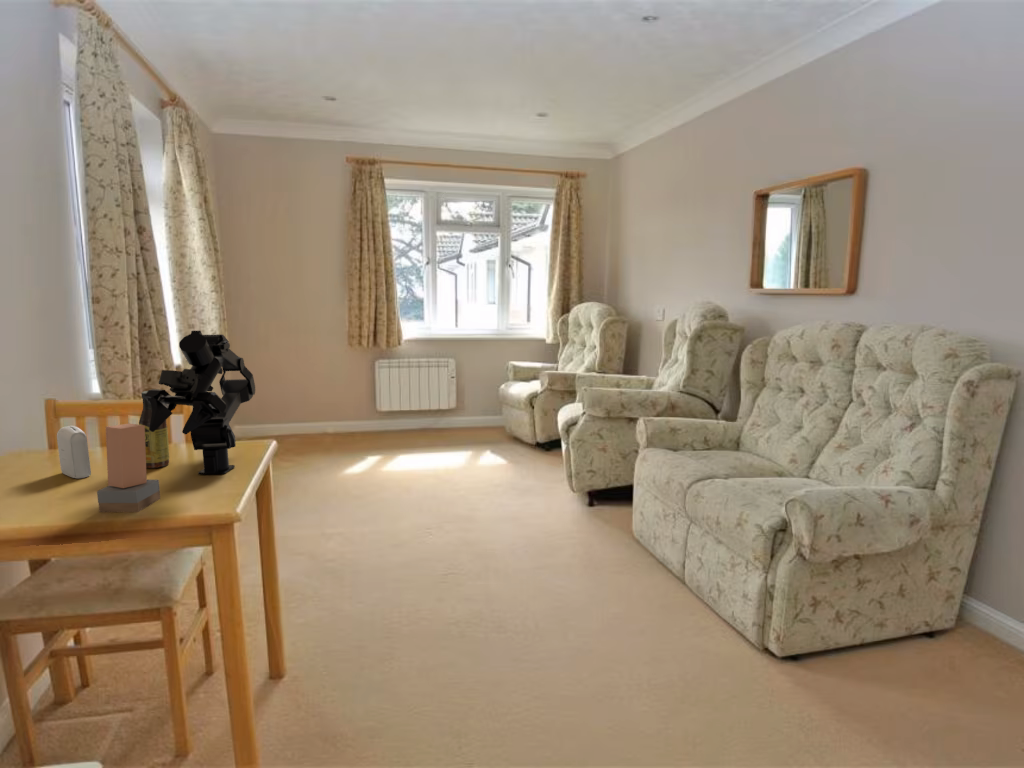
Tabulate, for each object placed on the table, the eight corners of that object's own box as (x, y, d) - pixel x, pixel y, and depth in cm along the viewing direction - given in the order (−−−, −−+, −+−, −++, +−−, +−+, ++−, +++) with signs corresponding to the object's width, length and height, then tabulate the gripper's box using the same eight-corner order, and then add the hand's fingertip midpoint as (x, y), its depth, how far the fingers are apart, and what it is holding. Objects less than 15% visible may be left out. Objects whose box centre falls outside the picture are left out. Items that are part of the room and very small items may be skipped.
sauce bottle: (140, 465, 156) (132, 391, 153) (166, 461, 160) (159, 388, 157) (146, 471, 151) (138, 394, 148) (173, 466, 156) (166, 391, 153)
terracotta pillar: (131, 480, 130) (129, 423, 129) (146, 483, 128) (144, 425, 127) (108, 485, 125) (105, 426, 124) (123, 488, 123) (120, 428, 122)
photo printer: (58, 473, 150) (52, 425, 148) (78, 469, 153) (73, 422, 152) (73, 480, 144) (67, 430, 142) (94, 476, 147) (88, 427, 146)
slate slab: (123, 490, 131) (121, 479, 130) (159, 490, 131) (158, 479, 130) (98, 502, 123) (97, 491, 122) (137, 502, 123) (136, 491, 122)
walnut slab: (123, 501, 131) (122, 490, 131) (160, 501, 131) (159, 490, 131) (99, 514, 123) (98, 502, 123) (138, 514, 123) (137, 502, 123)
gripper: (147, 355, 140) (109, 410, 131) (213, 357, 135) (178, 414, 126) (176, 383, 149) (143, 436, 140) (239, 386, 144) (209, 441, 135)
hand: (167, 432), depth 135 cm, fingers open, 9 cm apart
